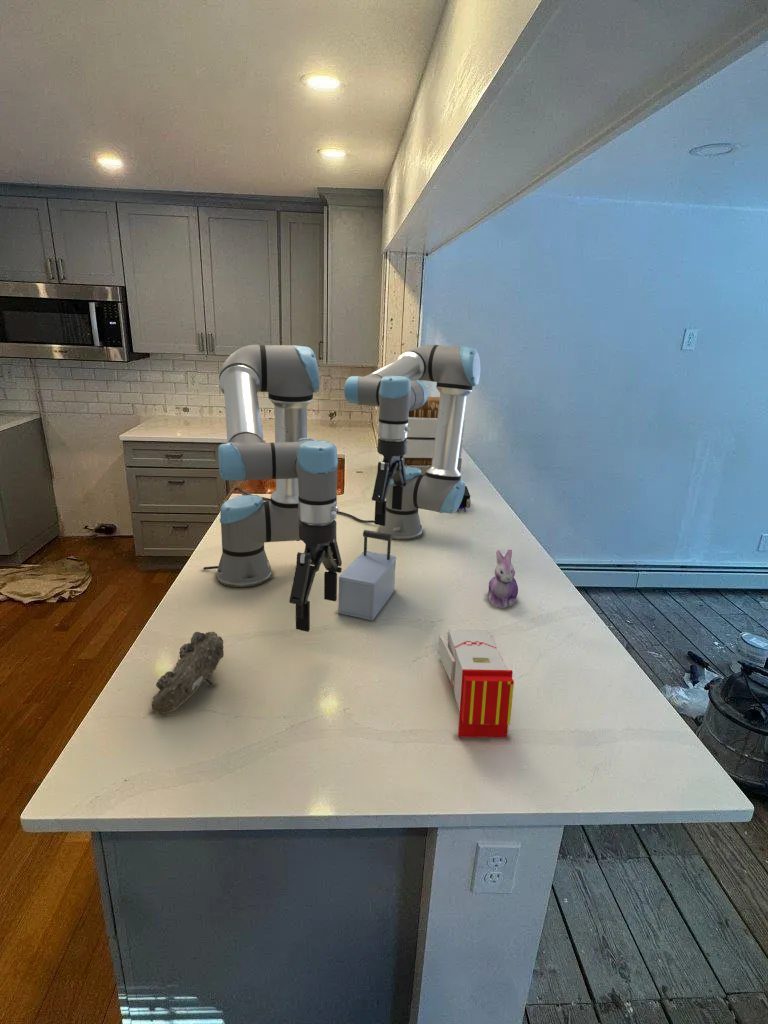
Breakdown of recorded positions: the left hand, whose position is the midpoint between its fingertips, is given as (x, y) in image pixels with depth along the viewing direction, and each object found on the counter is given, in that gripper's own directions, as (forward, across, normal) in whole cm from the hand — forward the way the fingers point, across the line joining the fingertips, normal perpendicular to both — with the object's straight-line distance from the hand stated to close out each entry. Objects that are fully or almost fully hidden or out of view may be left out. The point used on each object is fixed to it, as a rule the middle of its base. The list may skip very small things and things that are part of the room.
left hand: (317, 614), depth 120 cm
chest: (+13, +32, 0) cm, 35 cm away
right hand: (-9, +40, -2) cm, 41 cm away
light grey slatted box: (+13, +162, +21) cm, 163 cm away
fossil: (+13, -15, +21) cm, 29 cm away
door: (+4, +32, 0) cm, 32 cm away
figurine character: (+13, +120, -7) cm, 121 cm away
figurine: (+13, +47, -34) cm, 60 cm away
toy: (+13, +4, -33) cm, 36 cm away
